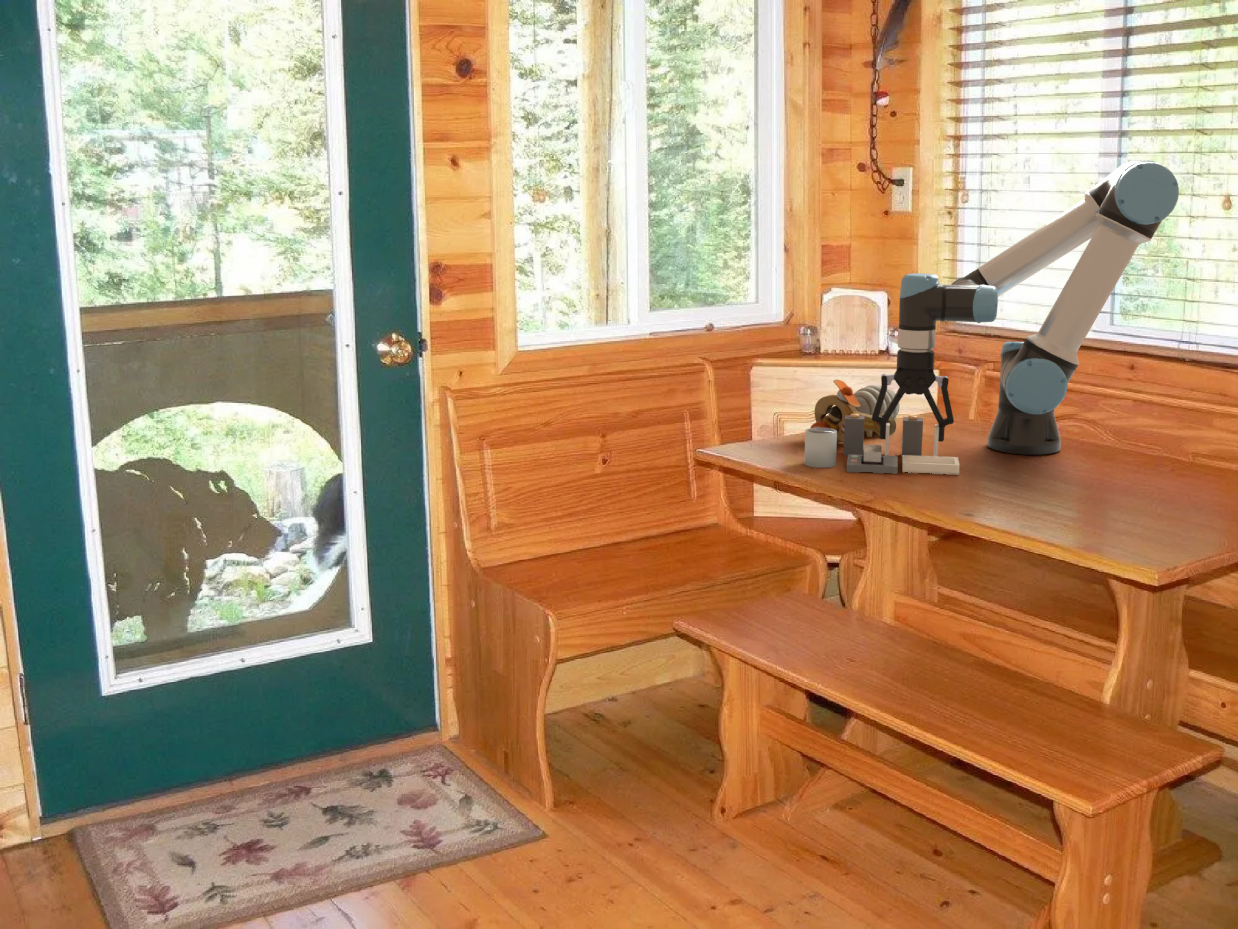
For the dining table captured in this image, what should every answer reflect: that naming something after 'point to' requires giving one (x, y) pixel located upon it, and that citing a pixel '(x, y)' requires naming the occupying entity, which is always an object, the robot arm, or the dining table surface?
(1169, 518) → the dining table surface
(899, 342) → the robot arm
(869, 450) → the grey rectangular block
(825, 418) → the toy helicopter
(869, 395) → the grey ribbed rounded cylinder
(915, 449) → the cell
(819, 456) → the cup
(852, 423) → the block
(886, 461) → the base
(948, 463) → the trough
